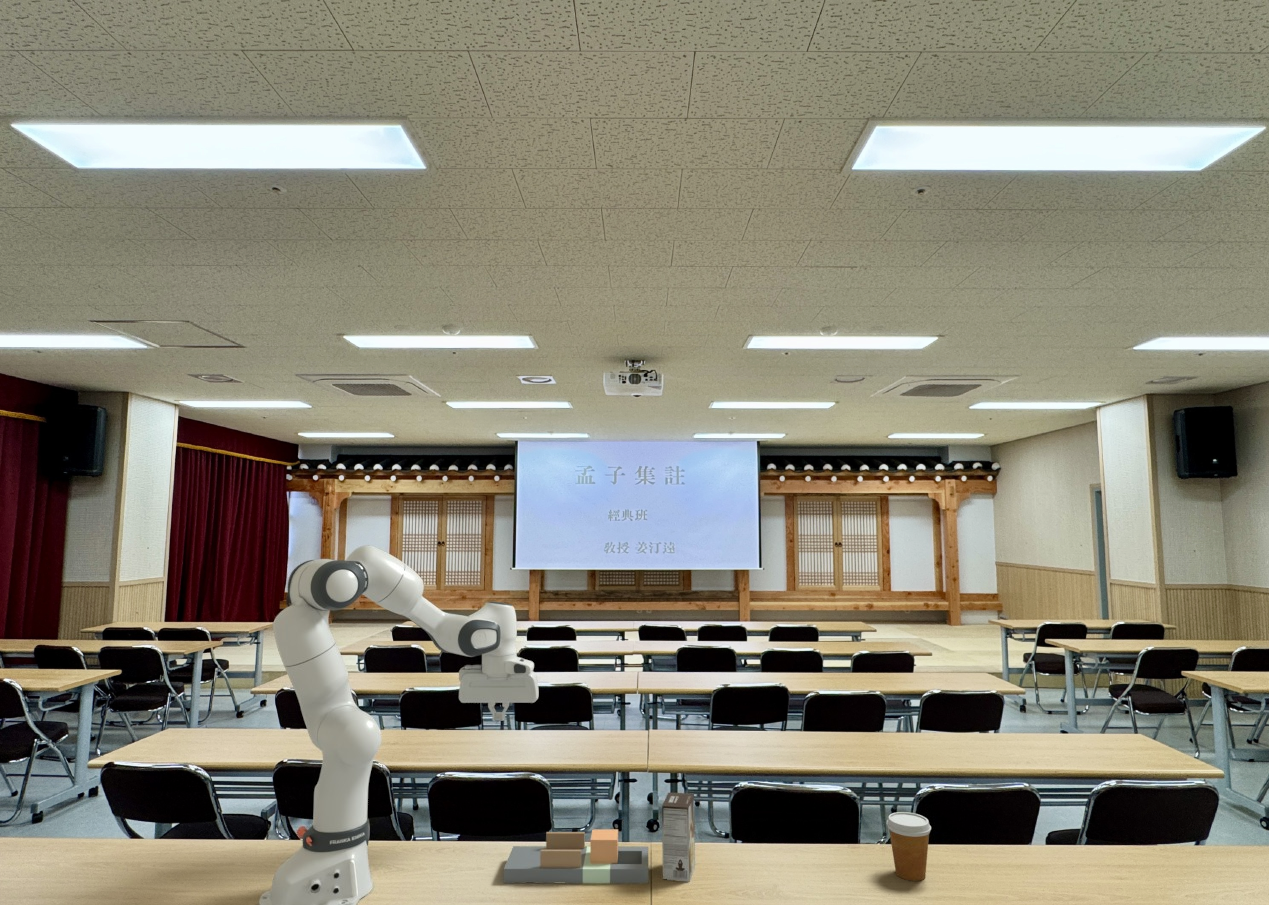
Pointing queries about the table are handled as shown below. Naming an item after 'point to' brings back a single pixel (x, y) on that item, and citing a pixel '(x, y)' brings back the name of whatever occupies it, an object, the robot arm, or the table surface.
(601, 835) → the block
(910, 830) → the disposable coffee cup
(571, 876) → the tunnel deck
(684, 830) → the coffee box
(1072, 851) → the table surface
